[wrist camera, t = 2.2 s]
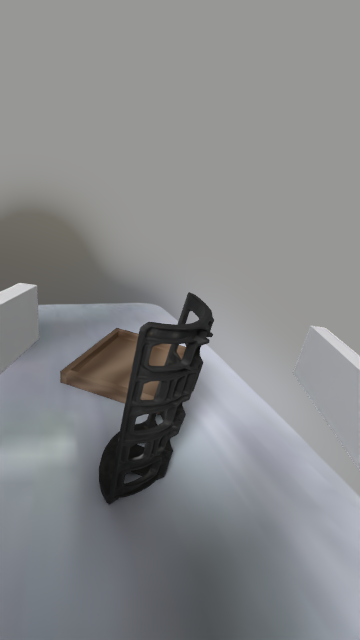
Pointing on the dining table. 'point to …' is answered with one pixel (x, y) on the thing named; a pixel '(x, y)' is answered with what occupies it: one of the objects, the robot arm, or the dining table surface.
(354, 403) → the robot arm
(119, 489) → the holder
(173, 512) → the dining table surface
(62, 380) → the tray
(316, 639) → the dining table surface
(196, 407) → the dining table surface
